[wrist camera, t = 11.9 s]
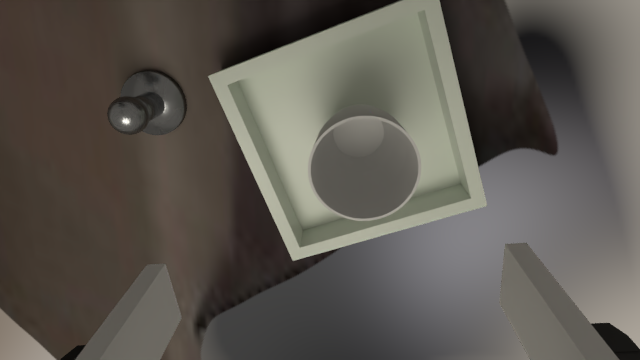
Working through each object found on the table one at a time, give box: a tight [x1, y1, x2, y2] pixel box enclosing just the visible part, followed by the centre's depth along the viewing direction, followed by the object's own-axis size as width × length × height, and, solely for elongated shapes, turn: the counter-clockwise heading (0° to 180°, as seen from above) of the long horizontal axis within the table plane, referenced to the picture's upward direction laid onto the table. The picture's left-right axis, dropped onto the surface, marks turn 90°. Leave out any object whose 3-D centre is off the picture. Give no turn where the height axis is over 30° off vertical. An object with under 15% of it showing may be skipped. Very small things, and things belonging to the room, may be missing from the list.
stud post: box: [107, 71, 187, 135], centre depth 35 cm, size 6×6×7 cm
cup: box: [308, 104, 421, 221], centre depth 33 cm, size 8×8×10 cm
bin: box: [208, 0, 487, 261], centre depth 36 cm, size 19×19×4 cm
